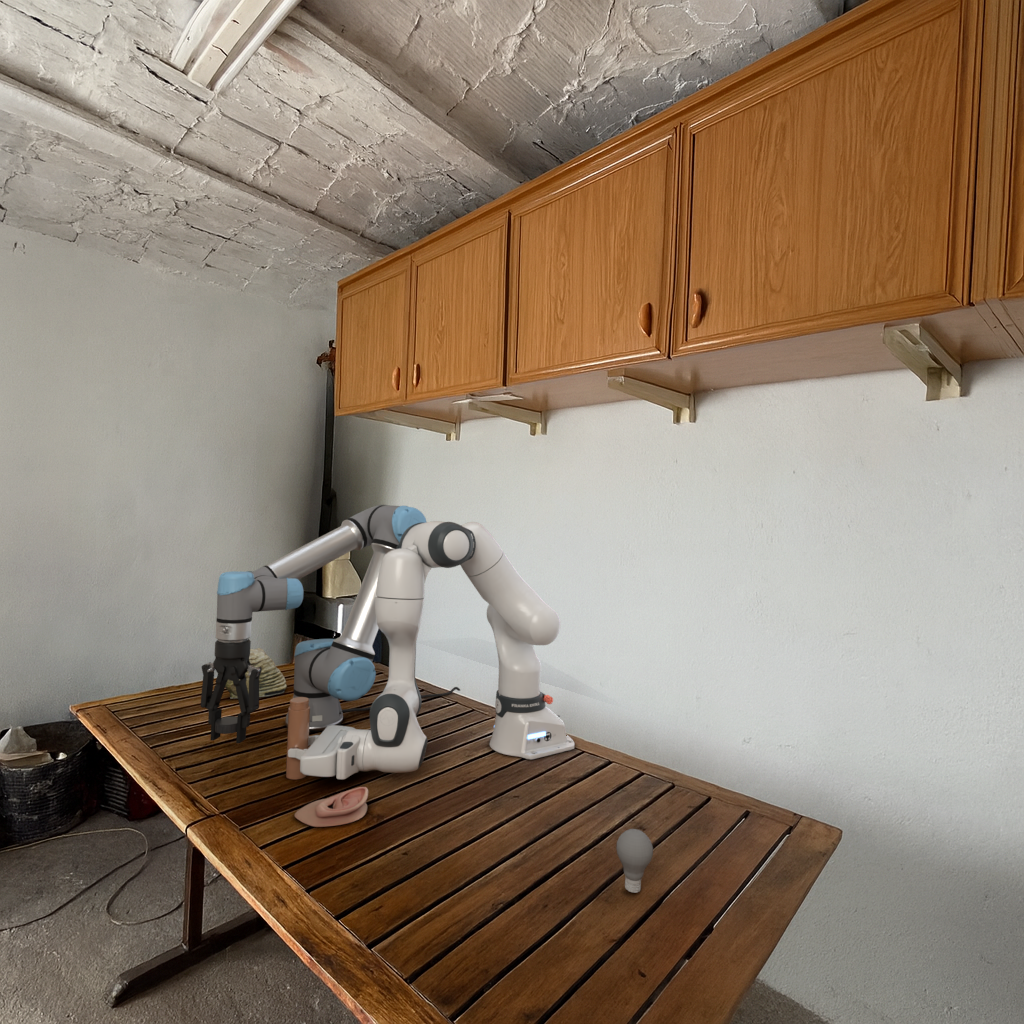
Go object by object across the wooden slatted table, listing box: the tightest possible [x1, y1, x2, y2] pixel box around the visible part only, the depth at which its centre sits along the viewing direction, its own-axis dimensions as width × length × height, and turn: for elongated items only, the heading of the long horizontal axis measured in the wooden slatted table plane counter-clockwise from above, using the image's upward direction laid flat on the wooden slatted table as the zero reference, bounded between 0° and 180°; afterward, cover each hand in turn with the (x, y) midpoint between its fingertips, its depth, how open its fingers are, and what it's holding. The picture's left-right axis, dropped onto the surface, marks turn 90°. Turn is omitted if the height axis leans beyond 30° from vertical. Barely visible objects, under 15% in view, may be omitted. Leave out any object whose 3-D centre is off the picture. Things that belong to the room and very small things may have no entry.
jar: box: [285, 697, 310, 780], centre depth 143 cm, size 5×5×17 cm
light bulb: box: [615, 828, 654, 894], centre depth 106 cm, size 6×6×10 cm
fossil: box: [225, 647, 288, 699], centre depth 198 cm, size 9×18×15 cm, turn 132°
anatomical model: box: [294, 786, 369, 828], centre depth 127 cm, size 13×4×12 cm
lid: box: [215, 716, 238, 735], centre depth 146 cm, size 6×6×2 cm
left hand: (228, 739), depth 146 cm, fingers closed on lid, 6 cm apart
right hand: (293, 746), depth 143 cm, fingers closed on jar, 5 cm apart
